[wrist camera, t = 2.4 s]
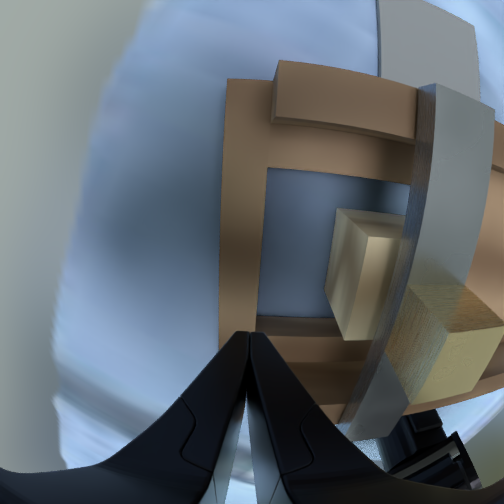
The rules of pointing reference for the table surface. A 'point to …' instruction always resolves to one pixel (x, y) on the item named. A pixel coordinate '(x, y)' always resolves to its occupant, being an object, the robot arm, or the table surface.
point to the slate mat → (426, 47)
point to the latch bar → (433, 273)
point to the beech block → (361, 269)
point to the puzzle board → (337, 162)
